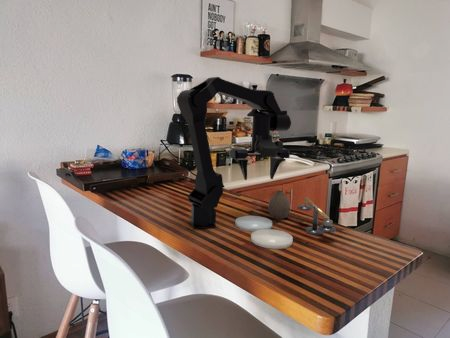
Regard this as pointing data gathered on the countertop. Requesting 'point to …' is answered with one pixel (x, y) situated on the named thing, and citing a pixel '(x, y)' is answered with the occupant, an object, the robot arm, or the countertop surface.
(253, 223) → the white round plate
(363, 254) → the countertop surface
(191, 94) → the robot arm
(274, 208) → the vase
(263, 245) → the dish low
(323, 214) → the balance
